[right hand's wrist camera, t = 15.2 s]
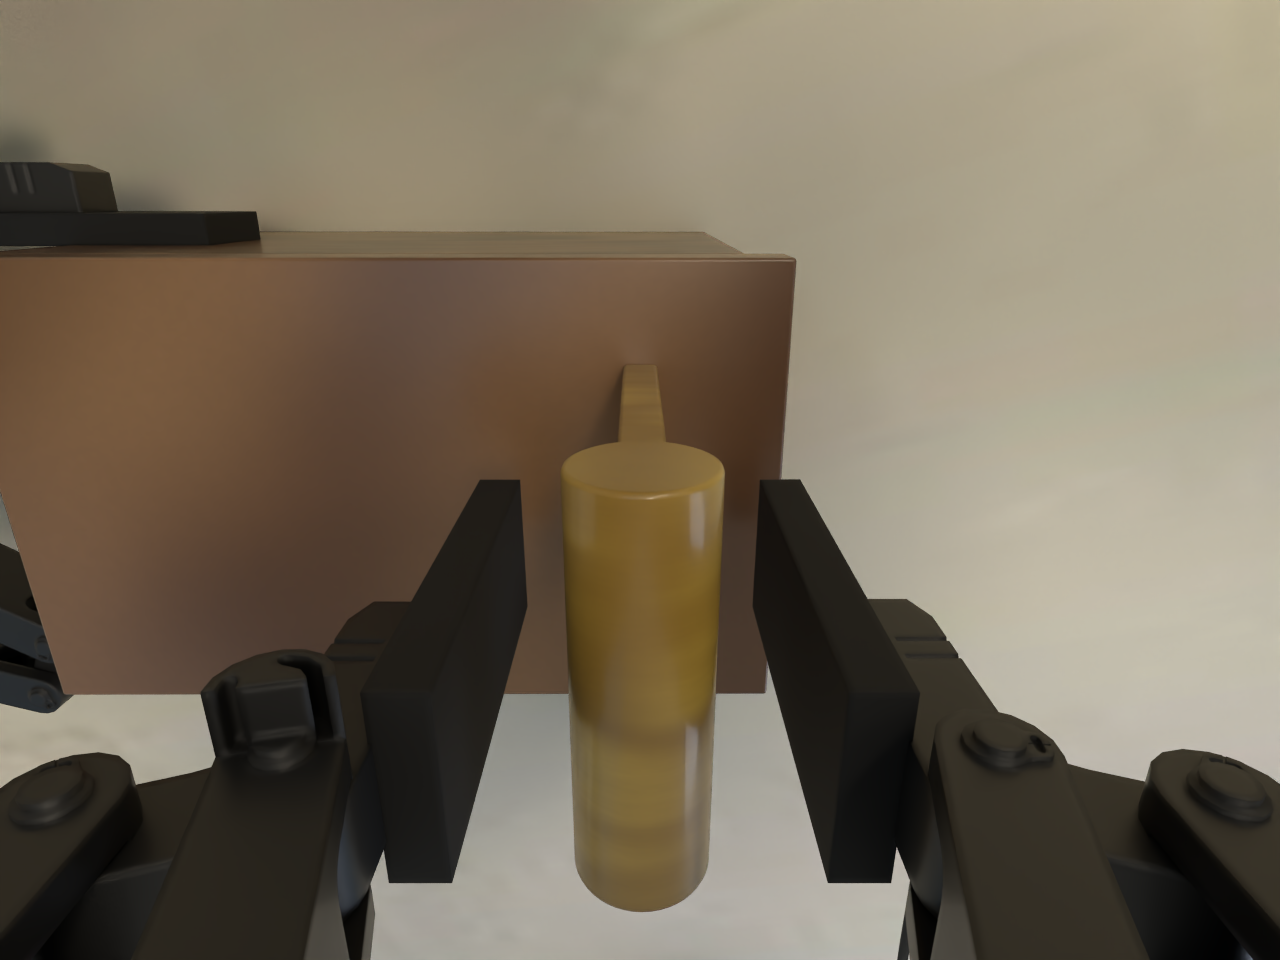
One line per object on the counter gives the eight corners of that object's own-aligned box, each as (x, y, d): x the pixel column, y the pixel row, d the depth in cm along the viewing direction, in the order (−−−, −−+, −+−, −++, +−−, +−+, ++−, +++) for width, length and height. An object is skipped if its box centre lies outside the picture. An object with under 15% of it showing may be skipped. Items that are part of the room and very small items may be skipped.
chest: (705, 231, 26) (746, 253, 16) (697, 509, 29) (726, 665, 20) (227, 231, 26) (-24, 253, 16) (277, 509, 29) (96, 666, 20)
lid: (786, 253, 16) (945, 315, 8) (759, 666, 20) (848, 1010, 11) (-26, 253, 16) (-744, 314, 8) (95, 667, 20) (-304, 1014, 11)
